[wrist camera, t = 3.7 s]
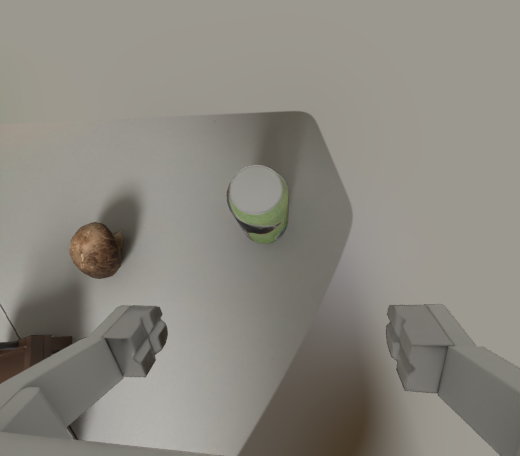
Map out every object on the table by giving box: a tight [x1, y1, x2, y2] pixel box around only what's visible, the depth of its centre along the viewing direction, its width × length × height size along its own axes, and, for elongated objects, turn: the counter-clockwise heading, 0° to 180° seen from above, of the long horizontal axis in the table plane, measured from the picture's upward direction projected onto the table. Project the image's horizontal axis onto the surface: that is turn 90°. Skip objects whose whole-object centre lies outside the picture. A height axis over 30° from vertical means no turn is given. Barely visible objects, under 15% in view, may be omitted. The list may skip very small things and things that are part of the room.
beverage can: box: [227, 165, 289, 243], centre depth 28 cm, size 6×7×12 cm
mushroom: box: [69, 222, 123, 279], centre depth 35 cm, size 8×8×6 cm
